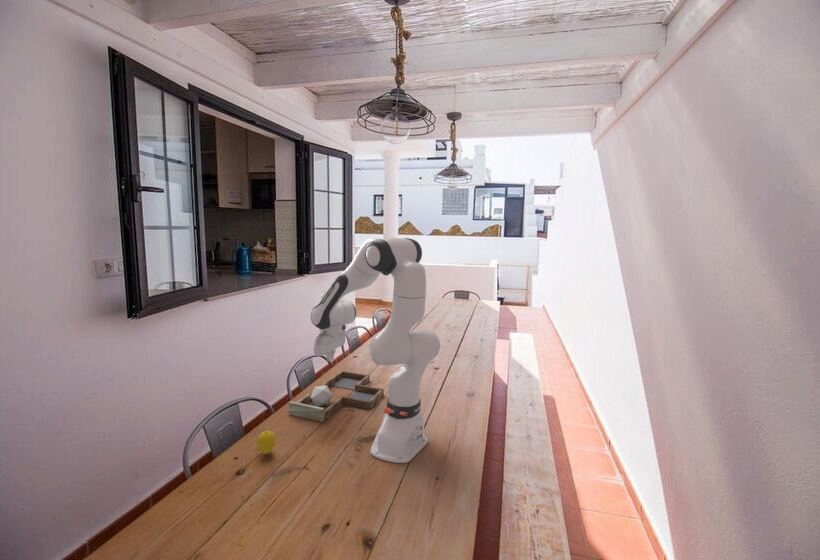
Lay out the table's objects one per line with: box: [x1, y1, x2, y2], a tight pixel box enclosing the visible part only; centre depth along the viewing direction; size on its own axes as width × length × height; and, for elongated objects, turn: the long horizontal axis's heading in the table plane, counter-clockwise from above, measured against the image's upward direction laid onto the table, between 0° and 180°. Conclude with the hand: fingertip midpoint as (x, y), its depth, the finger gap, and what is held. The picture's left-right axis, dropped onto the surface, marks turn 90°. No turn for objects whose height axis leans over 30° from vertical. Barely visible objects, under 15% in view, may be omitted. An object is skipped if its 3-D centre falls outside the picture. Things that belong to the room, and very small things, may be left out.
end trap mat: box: [331, 378, 360, 391], centre depth 181 cm, size 10×12×1 cm
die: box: [311, 385, 333, 407], centre depth 159 cm, size 8×9×10 cm
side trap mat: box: [348, 390, 374, 401], centre depth 166 cm, size 11×12×1 cm
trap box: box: [288, 370, 385, 423], centre depth 166 cm, size 42×28×5 cm, turn 161°
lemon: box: [256, 430, 277, 455], centre depth 123 cm, size 6×6×8 cm
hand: (330, 360), depth 162 cm, fingers closed
